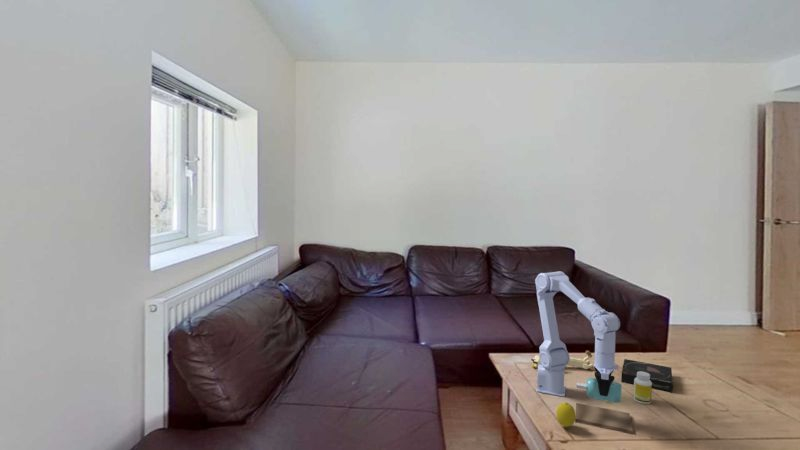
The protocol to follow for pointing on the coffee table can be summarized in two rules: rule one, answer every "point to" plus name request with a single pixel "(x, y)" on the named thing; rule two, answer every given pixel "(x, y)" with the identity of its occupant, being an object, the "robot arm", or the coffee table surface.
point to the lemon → (565, 414)
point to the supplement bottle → (642, 388)
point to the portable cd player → (658, 374)
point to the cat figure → (570, 362)
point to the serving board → (603, 418)
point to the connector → (593, 390)
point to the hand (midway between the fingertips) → (603, 392)
